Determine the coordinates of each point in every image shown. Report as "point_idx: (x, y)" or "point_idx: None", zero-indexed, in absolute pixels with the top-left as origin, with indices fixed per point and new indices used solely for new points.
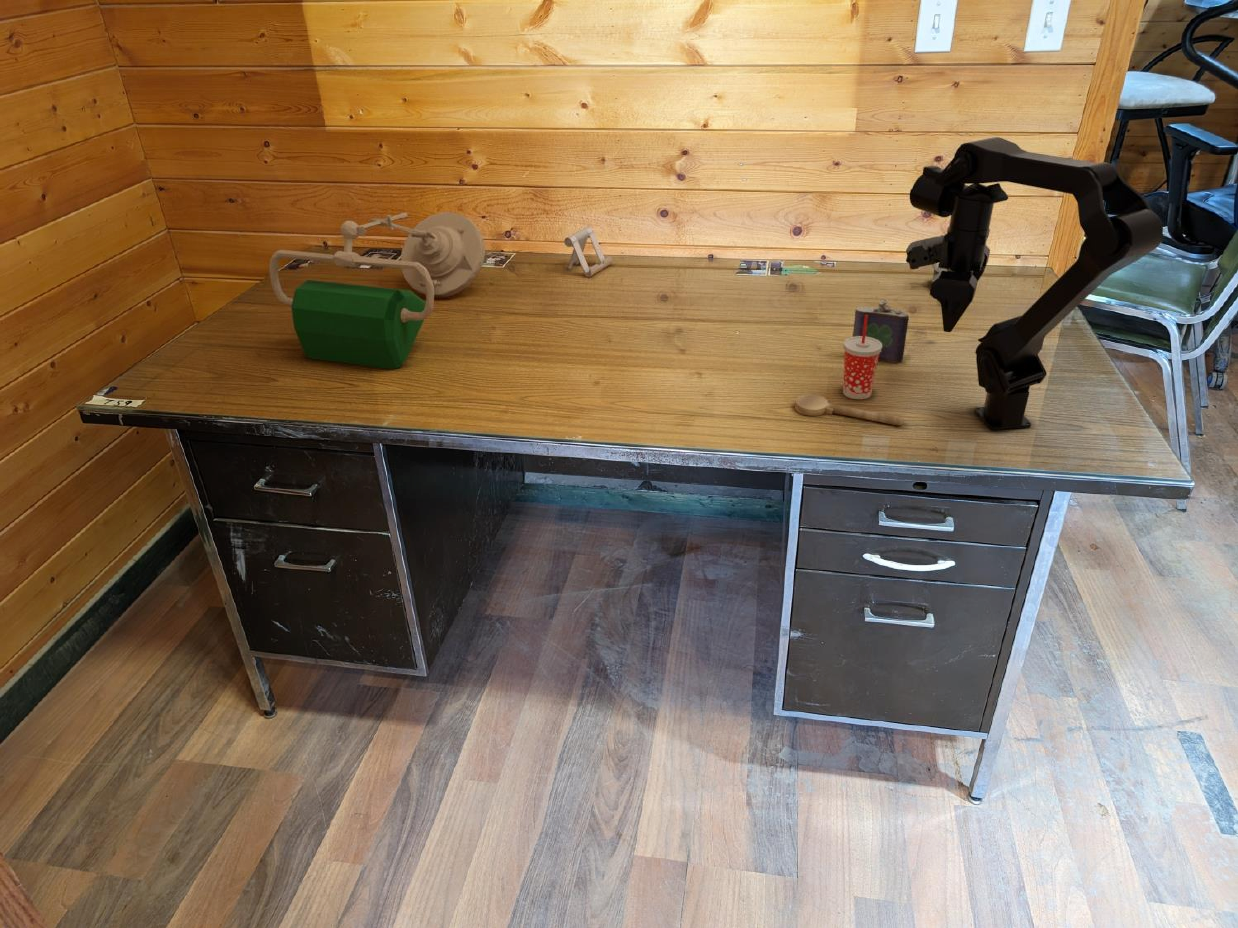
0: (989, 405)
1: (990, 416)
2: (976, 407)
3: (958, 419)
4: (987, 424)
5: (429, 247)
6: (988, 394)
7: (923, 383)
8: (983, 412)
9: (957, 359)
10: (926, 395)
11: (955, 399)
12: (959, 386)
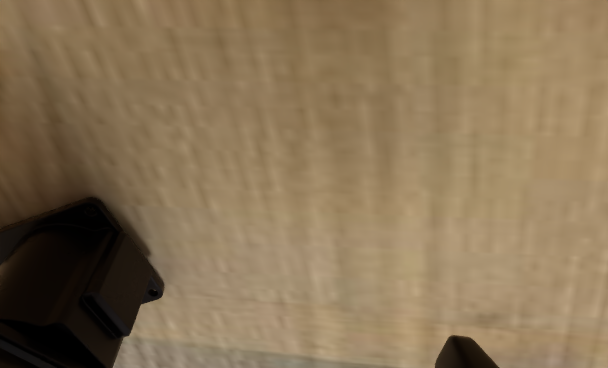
0: (3, 266)
1: (13, 248)
2: (98, 207)
3: (11, 146)
4: (2, 230)
5: None
6: (4, 285)
7: (274, 23)
8: (71, 225)
9: (511, 157)
10: (162, 34)
11: (167, 141)
12: (278, 157)
